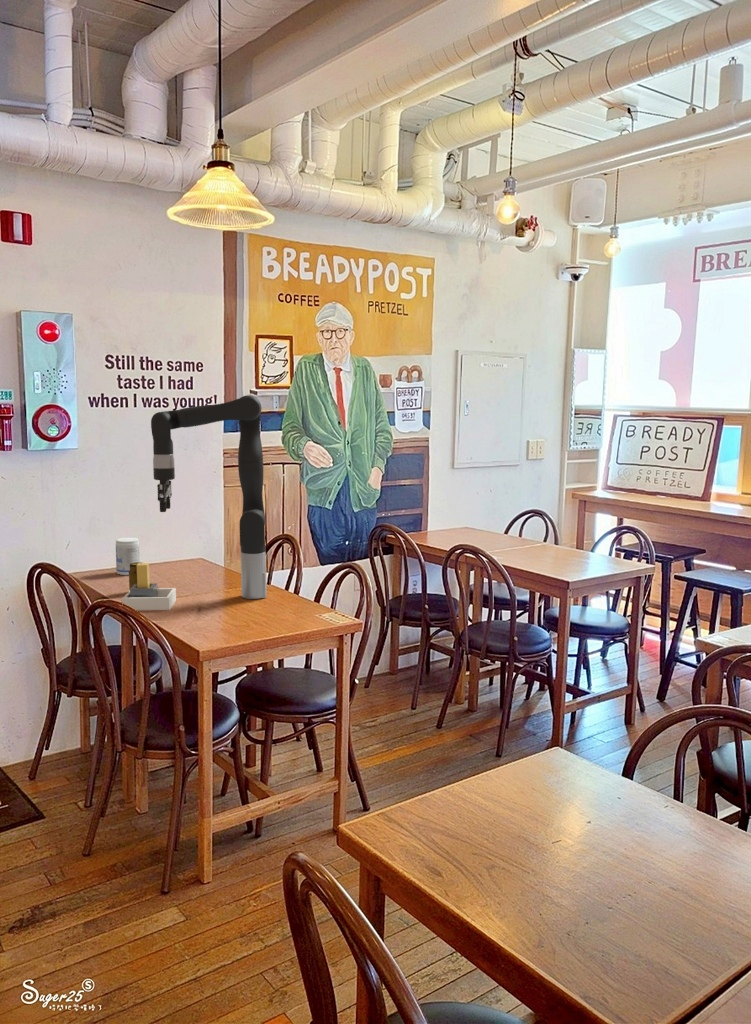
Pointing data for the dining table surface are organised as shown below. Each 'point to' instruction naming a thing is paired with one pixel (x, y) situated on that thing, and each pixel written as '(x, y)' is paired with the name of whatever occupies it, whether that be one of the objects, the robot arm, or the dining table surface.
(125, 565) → the supplement tub
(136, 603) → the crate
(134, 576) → the condiment
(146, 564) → the plug
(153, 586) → the socket
